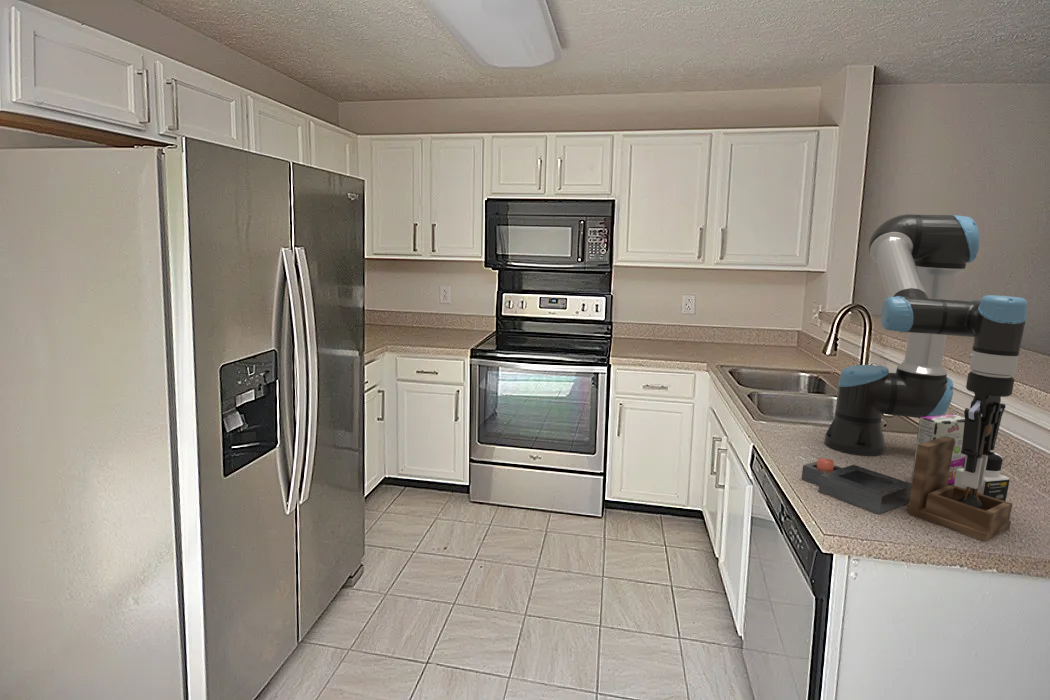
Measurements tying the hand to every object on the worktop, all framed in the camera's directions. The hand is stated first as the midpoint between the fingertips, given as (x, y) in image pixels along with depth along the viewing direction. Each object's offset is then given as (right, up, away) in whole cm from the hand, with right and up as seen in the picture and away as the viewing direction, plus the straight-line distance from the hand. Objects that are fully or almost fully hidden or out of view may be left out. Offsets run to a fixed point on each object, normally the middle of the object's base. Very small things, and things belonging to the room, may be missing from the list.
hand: (971, 485), depth 130 cm
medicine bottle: (+10, -7, +13) cm, 18 cm away
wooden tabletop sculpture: (0, -6, +1) cm, 6 cm away
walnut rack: (-1, -8, +3) cm, 9 cm away
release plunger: (-20, -4, +22) cm, 30 cm away
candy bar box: (+8, -5, +24) cm, 26 cm away
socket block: (-17, -5, +16) cm, 24 cm away
